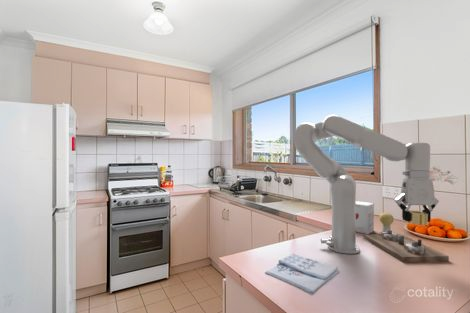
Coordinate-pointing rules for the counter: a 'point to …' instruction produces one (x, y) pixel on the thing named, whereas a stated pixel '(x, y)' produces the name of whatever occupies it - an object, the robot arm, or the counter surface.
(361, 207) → the supplement box
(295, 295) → the counter surface
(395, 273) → the counter surface
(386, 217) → the light bulb
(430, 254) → the gear board
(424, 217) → the brass gear
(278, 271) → the folded cloth napkin
